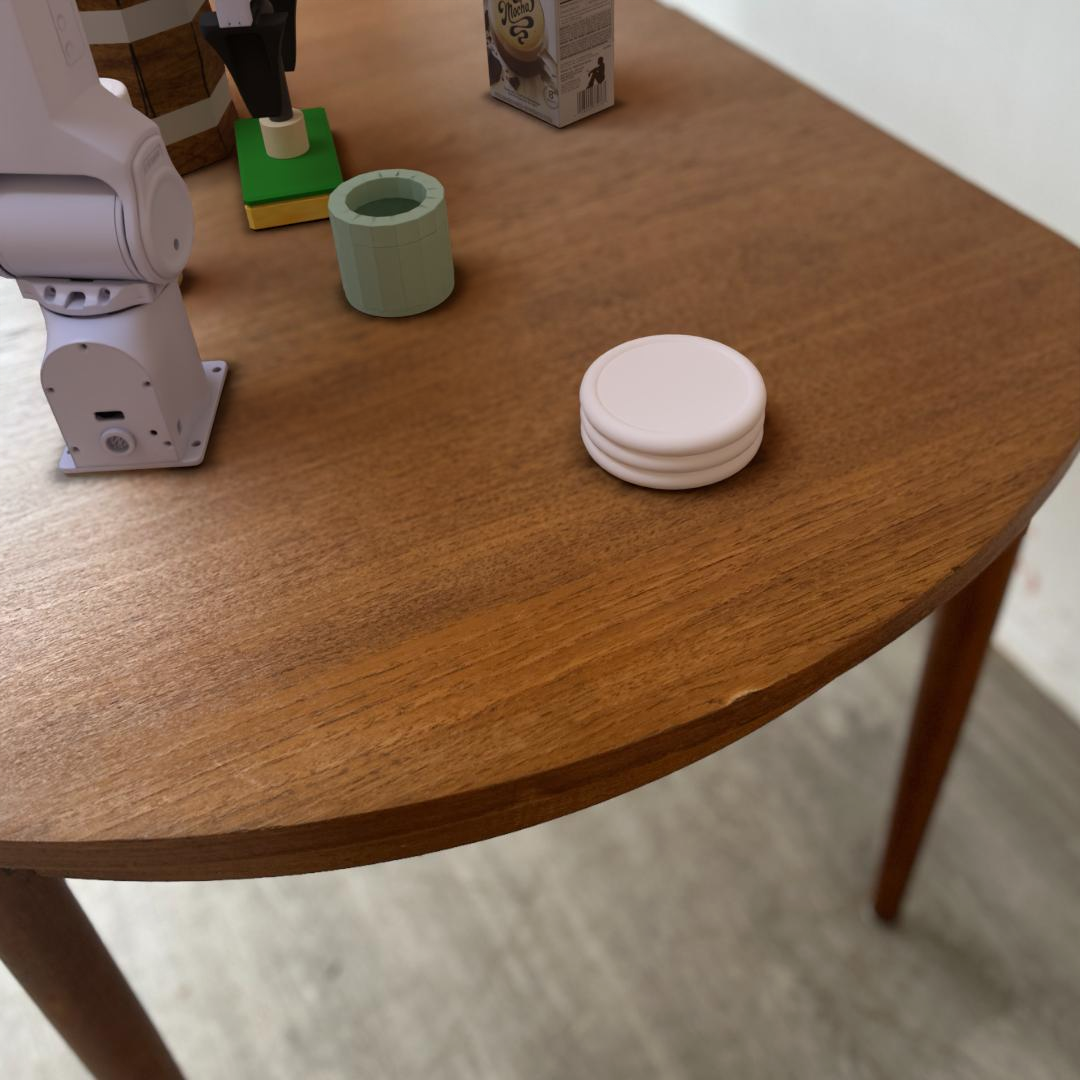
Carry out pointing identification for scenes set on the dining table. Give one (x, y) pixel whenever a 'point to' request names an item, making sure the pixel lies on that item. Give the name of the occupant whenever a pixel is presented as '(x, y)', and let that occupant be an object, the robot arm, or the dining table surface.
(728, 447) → the white stacked discs
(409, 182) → the jar
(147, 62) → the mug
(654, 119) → the dining table surface
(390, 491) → the dining table surface
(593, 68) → the coffee box
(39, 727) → the dining table surface
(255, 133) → the dish sponge
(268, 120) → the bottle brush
